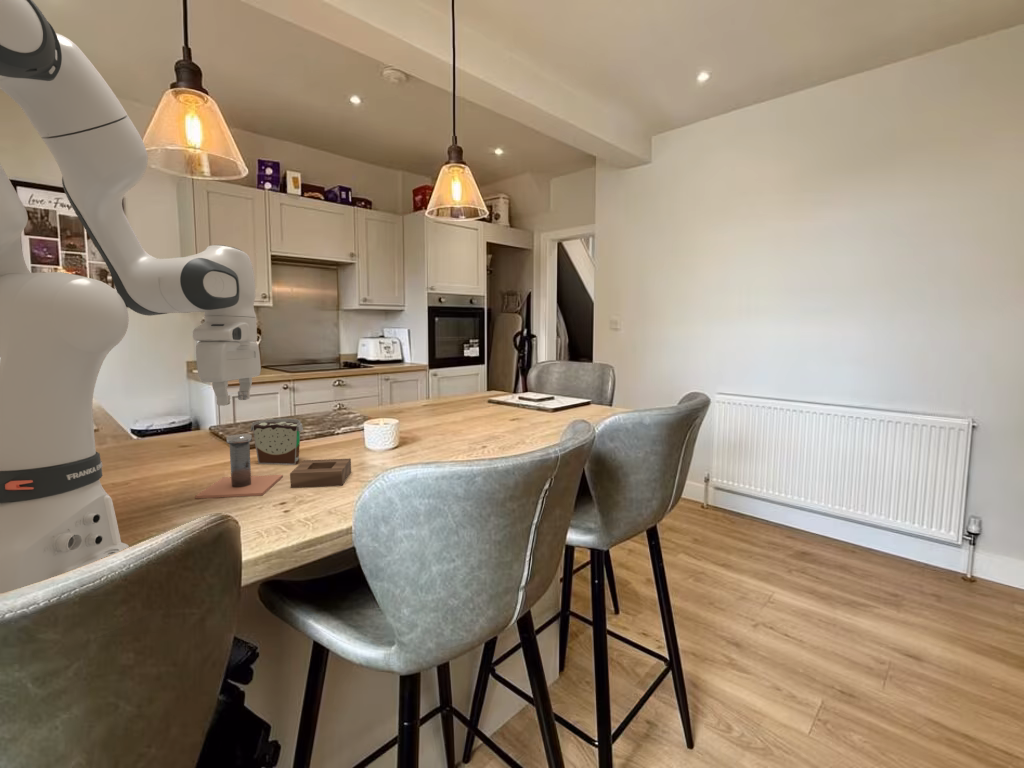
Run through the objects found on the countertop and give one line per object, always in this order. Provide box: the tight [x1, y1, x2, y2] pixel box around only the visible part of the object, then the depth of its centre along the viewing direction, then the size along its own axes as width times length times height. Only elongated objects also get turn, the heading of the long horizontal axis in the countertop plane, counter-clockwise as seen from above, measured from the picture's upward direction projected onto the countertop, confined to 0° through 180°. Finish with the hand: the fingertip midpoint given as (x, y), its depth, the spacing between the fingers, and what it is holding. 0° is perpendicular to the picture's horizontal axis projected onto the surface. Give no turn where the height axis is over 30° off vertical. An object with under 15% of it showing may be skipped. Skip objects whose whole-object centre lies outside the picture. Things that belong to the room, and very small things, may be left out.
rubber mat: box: [194, 474, 284, 500], centre depth 99 cm, size 12×12×1 cm
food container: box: [250, 418, 304, 466], centre depth 118 cm, size 12×6×10 cm, turn 84°
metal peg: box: [226, 433, 253, 487], centre depth 98 cm, size 4×4×10 cm
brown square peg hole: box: [289, 458, 352, 489], centre depth 104 cm, size 10×10×3 cm
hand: (234, 402), depth 96 cm, fingers open, 8 cm apart
